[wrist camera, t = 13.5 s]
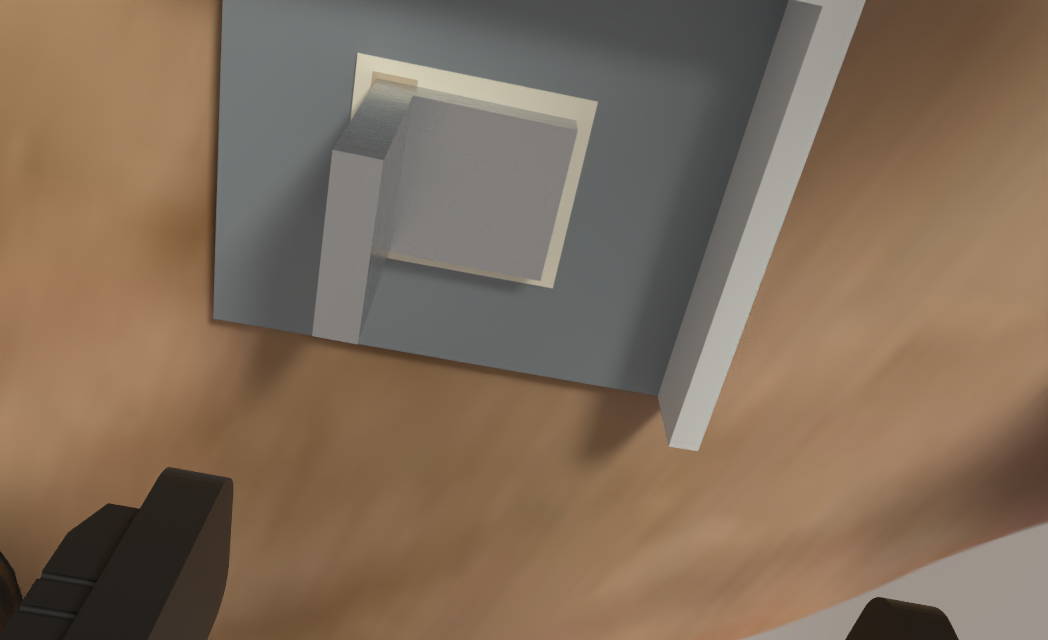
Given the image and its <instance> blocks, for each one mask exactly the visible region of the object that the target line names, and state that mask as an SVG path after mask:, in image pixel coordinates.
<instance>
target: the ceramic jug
mask: <svg viewBox="0 0 1048 640" xmlns="http://www.w3.org/2000/svg"><path fill="white" fill-rule="evenodd" d="M21 602H22V595H21V592H20V590H19V587H18V585H17V582H16V577H15V573H14V570H13V569H12V567H11V566H10V564H9V563H8V561H7V560H6V559H5V557H4V556H3V554H2V553H1V552H0V633H1V632H2V630H3V629H4V627H5V626H6V624H7V623H8V621H9V620H10V618H11V617H12V615H13V614H14V612H18V611H19V609H20V605H21Z"/></svg>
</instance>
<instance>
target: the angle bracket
mask: <svg viewBox="0 0 1048 640" xmlns="http://www.w3.org/2000/svg"><path fill="white" fill-rule="evenodd" d="M577 132H578V128H577V122H576V120H571V119H567V118H562V117H557V116H553V115H548V114H543V113H539V112H534V111H529V110H524V109H520V108H515V107H510V106H506V105H501V104H496V103H492V102H487V101H482V100H478V99H473V98H468V97H463V96H459V95H454V94H449V93H445V92H440V91H435V90H431V89H426V88H421V87H416V86H412V85H407V84H402V83H398V82H393V81H388V80H384V79H379V78H378V79H377V80H376V82H375V83H374V85H373V86H372V88H371V90H370V91H369V93H368V94H367V96H366V97H365V99H364V101H363V102H362V104H361V105H360V107H359V108H358V110H357V112H356V113H355V115H354V116H353V118H352V120H351V121H350V123H349V124H348V126H347V127H346V129H345V131H344V132H343V134H342V135H341V137H340V138H339V140H338V142H337V143H336V145H335V146H334V148H333V150H332V158H331V167H330V176H329V186H328V195H327V204H326V213H325V222H324V232H323V241H322V250H321V259H320V268H319V277H318V287H317V296H316V305H315V314H314V323H313V333H312V336H315V337H320V338H325V339H331V340H336V341H342V342H347V343H353V344H358V343H359V340H360V337H361V334H362V331H363V328H364V325H365V322H366V319H367V316H368V313H369V310H370V307H371V304H372V301H373V299H374V296H375V293H376V290H377V287H378V284H379V281H380V278H381V275H382V272H383V269H384V266H385V263H386V260H387V257H388V254H389V252H393V253H398V254H403V255H408V256H413V257H419V258H424V259H429V260H434V261H439V262H444V263H450V264H455V265H460V266H465V267H470V268H475V269H480V270H486V271H491V272H496V273H501V274H506V275H511V276H517V277H522V278H527V279H532V280H537V281H541V277H542V273H543V269H544V265H545V261H546V257H547V253H548V249H549V245H550V241H551V237H552V232H553V228H554V224H555V220H556V216H557V212H558V208H559V204H560V200H561V196H562V192H563V188H564V184H565V180H566V176H567V172H568V168H569V164H570V160H571V156H572V152H573V148H574V144H575V140H576V136H577Z"/></svg>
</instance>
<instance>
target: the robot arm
mask: <svg viewBox="0 0 1048 640" xmlns="http://www.w3.org/2000/svg"><path fill="white" fill-rule="evenodd" d="M232 503H233V481H232V479H231V478H227V477H221V476H216V475H210V474H205V473H199V472H193V471H188V470H182V469H177V468H171V467H168V468H166V469H165V470H164V471H163V472H162V473H161V474H160V476H159V477H158V479H157V481H156V482H155V484H154V486H153V488H152V489H151V491H150V493H149V494H148V496H147V498H146V499H145V501H144V503H143V505H142V506H141V508H140V509H138V508H132V507H126V506H121V505H115V504H109V503H108V504H107V505H105V506H104V507H103V508H101V509H100V510H98V511H97V512H96V513H94V514H93V515H92V516H90V517H89V518H87V519H86V520H85V521H83V522H82V523H81V524H79V525H78V526H76V527H75V528H74V529H72V530H71V531H70V532H68V533H67V535H66V536H65V538H64V539H63V541H62V542H61V544H60V545H59V547H58V548H57V550H56V551H55V553H54V554H53V556H52V557H51V559H50V560H49V562H48V563H47V565H46V566H45V568H44V569H43V571H42V575H41V577H40V579H37V580H36V581H35V583H34V584H33V585H32V587H31V588H30V590H29V591H28V593H27V594H26V596H25V597H24V599H23V600H22V602H21V605H20V609H19V611H18V612H14V614H13V615H12V617H11V618H10V620H9V621H8V623H7V624H6V626H5V627H4V629H3V630H2V632H1V633H0V640H207V639H208V636H209V634H210V632H211V629H212V627H213V624H214V622H215V619H216V617H217V614H218V611H219V608H220V605H221V601H222V598H223V594H224V590H225V586H226V581H227V575H228V568H229V553H230V537H231V520H232ZM846 640H959V639H958V637H957V635H956V633H955V631H954V629H953V627H952V625H951V623H950V621H949V619H948V618H947V616H946V615H945V614H944V613H943V612H942V611H941V610H940V609H938V608H936V607H932V606H926V605H921V604H915V603H909V602H904V601H898V600H893V599H887V598H881V597H877V598H874V599H872V600H871V601H870V602H869V603H868V604H867V605H866V606H865V608H864V610H863V611H862V613H861V615H860V616H859V618H858V619H857V621H856V623H855V624H854V626H853V628H852V630H851V631H850V633H849V634H848V636H847V638H846Z"/></svg>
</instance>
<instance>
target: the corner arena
mask: <svg viewBox="0 0 1048 640" xmlns="http://www.w3.org/2000/svg"><path fill="white" fill-rule="evenodd" d="M865 1H866V0H223V6H222V39H221V73H220V107H219V141H218V174H217V208H216V242H215V276H214V309H213V319H218V320H224V321H230V322H235V323H241V324H247V325H252V326H258V327H264V328H270V329H275V330H281V331H287V332H293V333H298V334H304V335H310V336H312V333H313V323H314V314H315V305H316V296H317V287H318V277H319V268H320V259H321V250H322V241H323V232H324V222H325V213H326V204H327V195H328V186H329V176H330V167H331V158H332V150H333V148H334V146H335V145H336V143H337V142H338V140H339V138H340V137H341V135H342V134H343V132H344V131H345V129H346V127H347V126H348V124H349V123H350V121H351V120H352V118H353V116H354V115H355V113H356V112H357V110H358V108H359V107H360V105H361V104H362V102H363V101H364V99H365V97H366V96H367V94H368V93H369V91H370V90H371V88H372V86H373V85H374V83H375V82H376V80H377V79H378V78H379V79H384V80H388V81H393V82H398V83H402V84H407V85H412V86H416V87H421V88H426V89H431V90H435V91H440V92H445V93H449V94H454V95H459V96H463V97H468V98H473V99H478V100H482V101H487V102H492V103H496V104H501V105H506V106H510V107H515V108H520V109H524V110H529V111H534V112H539V113H543V114H548V115H553V116H557V117H562V118H567V119H571V120H576V122H577V128H578V132H577V136H576V140H575V144H574V148H573V152H572V156H571V160H570V164H569V168H568V172H567V176H566V180H565V184H564V188H563V192H562V196H561V200H560V204H559V208H558V212H557V216H556V220H555V224H554V228H553V232H552V237H551V241H550V245H549V249H548V253H547V257H546V261H545V265H544V269H543V273H542V277H541V281H537V280H532V279H527V278H522V277H517V276H511V275H506V274H501V273H496V272H491V271H486V270H480V269H475V268H470V267H465V266H460V265H455V264H450V263H444V262H439V261H434V260H429V259H424V258H419V257H413V256H408V255H403V254H398V253H393V252H389V254H388V257H387V260H386V263H385V266H384V269H383V272H382V275H381V278H380V281H379V284H378V287H377V290H376V293H375V296H374V299H373V301H372V304H371V307H370V310H369V313H368V316H367V319H366V322H365V325H364V328H363V331H362V334H361V337H360V340H359V343H358V344H361V345H367V346H373V347H379V348H384V349H390V350H396V351H401V352H407V353H413V354H419V355H424V356H430V357H436V358H442V359H447V360H453V361H459V362H464V363H470V364H476V365H482V366H487V367H493V368H499V369H505V370H510V371H516V372H522V373H527V374H533V375H539V376H545V377H550V378H556V379H562V380H568V381H573V382H579V383H585V384H590V385H596V386H602V387H608V388H613V389H619V390H625V391H631V392H636V393H642V394H648V395H653V396H658V401H659V405H660V410H661V414H662V419H663V423H664V428H665V432H666V437H667V441H668V446H670V447H676V448H682V449H688V450H693V451H698V450H699V447H700V445H701V442H702V439H703V436H704V434H705V431H706V428H707V426H708V423H709V420H710V418H711V415H712V412H713V410H714V407H715V404H716V402H717V399H718V396H719V393H720V391H721V388H722V385H723V383H724V380H725V377H726V375H727V372H728V369H729V367H730V364H731V361H732V359H733V356H734V353H735V350H736V348H737V345H738V342H739V340H740V337H741V334H742V332H743V329H744V326H745V324H746V321H747V318H748V316H749V313H750V310H751V308H752V305H753V302H754V299H755V297H756V294H757V291H758V289H759V286H760V283H761V281H762V278H763V275H764V273H765V270H766V267H767V265H768V262H769V259H770V256H771V254H772V251H773V248H774V246H775V243H776V240H777V238H778V235H779V232H780V230H781V227H782V224H783V222H784V219H785V216H786V213H787V211H788V208H789V205H790V203H791V200H792V197H793V195H794V192H795V189H796V187H797V184H798V181H799V179H800V176H801V173H802V170H803V168H804V165H805V162H806V160H807V157H808V154H809V152H810V149H811V146H812V144H813V141H814V138H815V136H816V133H817V130H818V128H819V125H820V122H821V119H822V117H823V114H824V111H825V109H826V106H827V103H828V101H829V98H830V95H831V93H832V90H833V87H834V85H835V82H836V79H837V76H838V74H839V71H840V68H841V66H842V63H843V60H844V58H845V55H846V52H847V50H848V47H849V44H850V42H851V39H852V36H853V33H854V31H855V28H856V25H857V23H858V20H859V17H860V15H861V12H862V9H863V7H864V4H865Z"/></svg>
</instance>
